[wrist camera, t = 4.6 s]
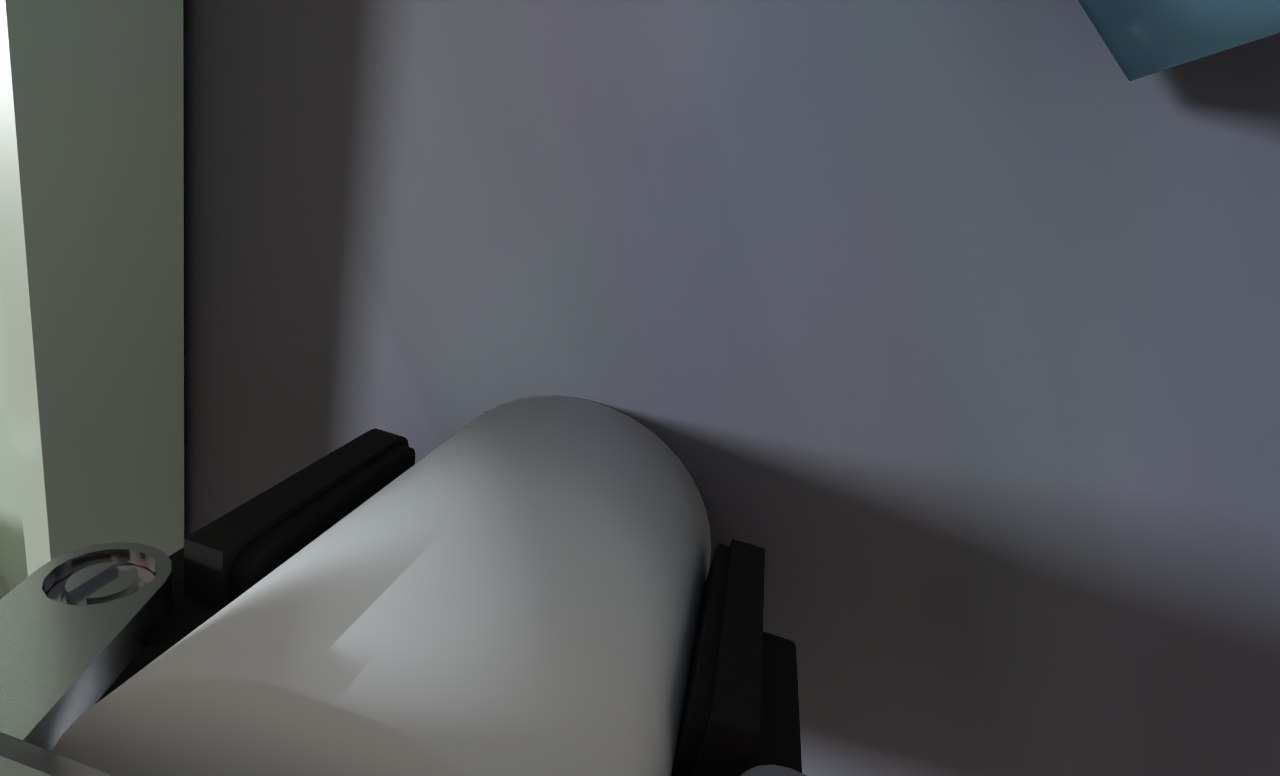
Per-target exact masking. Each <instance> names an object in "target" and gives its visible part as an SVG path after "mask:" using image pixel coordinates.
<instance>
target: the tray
mask: <svg viewBox="0 0 1280 776" xmlns="http://www.w3.org/2000/svg"><path fill="white" fill-rule="evenodd" d="M116 542H120V543H139V544H144V545H148V546H153V547H155V548H157V549H159V550H161V551H163V552H165V553H166V555H167V556H170V555H172V554H173V553H175V552H177V551H178V550H180V549H182V548H183V547H184V158H183V0H0V571H1V573H2V575H3V577H4V579H5V581H6V583H7V586H8V588H9V591H11V590H12V589H14V588H15V587H16V586H17V585H19V584H20V583H21V582H22V581H24V580H25V579H26V578H27V577H28V576H30V575H31V574H32V573H33V572H35V571H36V570H37V569H38V568H40V567H41V566H43V565H45V564H46V563H48V562H49V561H51V560H52V559H54V558H56V557H59V556H61V555H64V554H66V553H69V552H71V551H73V550H77V549H81V548H85V547H89V546H93V545H99V544H108V543H116Z"/></svg>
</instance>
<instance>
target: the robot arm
mask: <svg viewBox="0 0 1280 776" xmlns="http://www.w3.org/2000/svg"><path fill="white" fill-rule="evenodd" d="M414 463H415V450H414V449H413V448H410V447H409V445H408V440H407V439H406V438H405V437H402V436H399V435H395V434H392V433H389V432H386V431H382V430H379V429H372V430H370V431H368V432H366V433H364V434H363V435H361V436H359V437H358V438H356V439H354V440H352V441H351V442H349V443H347V444H346V445H344V446H342V447H340V448H339V449H337V450H335V451H334V452H332V453H330V454H328V455H327V456H325V457H323V458H321V459H320V460H318V461H316V462H315V463H313V464H311V465H309V466H308V467H306V468H304V469H303V470H301V471H299V472H297V473H296V474H294V475H292V476H291V477H289V478H287V479H285V480H284V481H282V482H280V483H279V484H277V485H275V486H273V487H272V488H270V489H268V490H267V491H265V492H263V493H261V494H260V495H258V496H256V497H254V498H253V499H251V500H249V501H248V502H246V503H244V504H242V505H241V506H239V507H237V508H236V509H234V510H232V511H230V512H229V513H227V514H225V515H224V516H222V517H220V518H218V519H217V520H215V521H213V522H212V523H210V524H208V525H206V526H205V527H203V528H201V529H200V530H198V531H196V532H194V533H193V534H191V535H189V536H187V537H186V538H184V547H183V548H182V549H180V550H178V551H177V552H175V553H173V554H172V555H170V556H167V555H166V553H165V552H163V551H161V550H159V549H157V548H155V547H153V546H148V545H144V544H139V543H120V542H116V543H108V544H99V545H93V546H89V547H85V548H81V549H77V550H73V551H71V552H69V553H66V554H64V555H61V556H59V557H56V558H54V559H52V560H51V561H49V562H48V563H46V564H45V565H43V566H41V567H40V568H38V569H37V570H36V571H35V572H33V573H32V574H31V575H30V576H28V577H27V578H26V579H25V580H24V581H22V582H21V583H20V584H19V585H17V586H16V587H15V588H14V589H12V590H11V591H10V592H9V593H8V594H6V595H5V596H4V597H3V598H0V776H113V775H110V774H107V773H105V772H102V771H100V770H97V769H95V768H92V767H89V766H87V765H84V764H82V763H79V762H77V761H74V760H72V759H69V758H66V757H64V756H61V755H59V754H56V753H54V752H52V750H53V748H54V747H55V745H56V744H57V742H58V740H59V739H60V737H61V735H62V734H63V733H64V732H65V731H66V730H67V729H68V728H69V727H70V726H71V725H72V724H73V723H74V722H75V721H76V720H77V719H78V718H79V717H80V716H81V715H82V714H83V713H84V712H86V711H87V710H88V709H90V708H91V707H92V706H94V705H95V704H96V703H98V702H99V701H100V700H102V699H103V698H104V697H106V696H107V695H108V694H110V693H111V692H112V691H114V690H115V689H116V688H118V687H119V686H120V685H122V684H123V683H124V682H126V681H127V680H128V679H130V678H131V677H132V676H134V675H135V674H136V673H138V672H139V671H140V670H142V669H143V668H144V667H146V666H147V665H148V664H150V663H151V662H152V661H154V660H155V659H156V658H158V657H159V656H160V655H162V654H163V653H164V652H166V651H167V650H168V649H170V648H171V647H172V646H174V645H175V644H176V643H178V642H179V641H180V640H182V639H183V638H184V637H186V636H187V635H188V634H190V633H191V632H192V631H194V630H195V629H196V628H198V627H199V626H200V625H202V624H203V623H204V622H206V621H207V620H208V619H210V618H211V617H212V616H214V615H215V614H216V613H218V612H219V611H220V610H222V609H223V608H224V607H226V606H227V605H228V604H230V603H231V602H232V601H234V600H235V599H236V598H238V597H239V596H240V595H242V594H243V593H244V592H246V591H247V590H248V589H250V588H251V587H252V586H254V585H255V584H256V583H258V582H259V581H260V580H262V579H263V578H264V577H266V576H267V575H268V574H270V573H271V572H272V571H274V570H275V569H276V568H278V567H279V566H280V565H282V564H283V563H284V562H286V561H287V560H288V559H290V558H291V557H292V556H294V555H295V554H296V553H298V552H299V551H300V550H302V549H303V548H304V547H306V546H307V545H308V544H309V543H311V542H312V541H313V540H315V539H316V538H317V537H319V536H320V535H321V534H323V533H324V532H325V531H327V530H328V529H329V528H331V527H332V526H333V525H335V524H336V523H337V522H339V521H340V520H341V519H343V518H344V517H345V516H347V515H348V514H349V513H351V512H352V511H353V510H355V509H356V508H357V507H359V506H360V505H361V504H363V503H364V502H365V501H367V500H368V499H369V498H371V497H372V496H373V495H375V494H376V493H377V492H379V491H380V490H381V489H383V488H384V487H385V486H387V485H388V484H389V483H391V482H392V481H393V480H395V479H396V478H397V477H399V476H400V475H401V474H403V473H404V472H405V471H407V470H408V469H409V468H411V467H412V466H413V465H414ZM764 565H765V549H764V548H761V547H758V546H754V545H751V544H748V543H745V542H741V541H738V540H735V539H732V541H731V543H730V546H725V545H722V544H719V543H718V545H717V547H716V550H715V553H714V557H713V560H712V563H711V566H710V569H709V573H708V576H707V579H706V582H705V588H704V594H703V599H702V605H701V611H700V616H699V622H698V628H697V633H696V639H695V645H694V650H693V656H692V661H691V667H690V673H689V678H688V684H687V690H686V695H685V701H684V707H683V712H682V718H681V724H680V729H679V735H678V741H677V746H676V752H675V758H674V763H673V769H672V775H671V776H806V775H804V774H802V764H801V743H800V722H799V702H798V681H797V660H796V647H795V644H794V642H793V641H790V640H787V639H784V638H781V637H778V636H775V635H772V634H769V633H765V632H763V604H764Z"/></svg>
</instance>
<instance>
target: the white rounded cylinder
mask: <svg viewBox="0 0 1280 776" xmlns="http://www.w3.org/2000/svg"><path fill="white" fill-rule="evenodd" d="M9 592H10V591H9V588H8V586H7V583H6V581H5V579H4V577H3V575H2V573H1V571H0V598H3V597H4V596H5V595H6V594H8V593H9Z"/></svg>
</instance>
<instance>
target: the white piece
mask: <svg viewBox="0 0 1280 776" xmlns="http://www.w3.org/2000/svg"><path fill="white" fill-rule="evenodd" d="M710 557H711V534H710V525H709V521H708V516H707V512H706V508H705V505H704V503H703V500H702V497H701V495H700V492H699V490H698V488H697V486H696V484H695V482H694V480H693V479H692V477H691V475H690V473H689V472H688V470H687V469H686V468H685V466H684V465H683V463H682V462H681V460H680V459H679V458H678V457H677V456H676V454H675V453H674V452H673V451H672V450H671V449H670V448H669V447H668V446H667V445H666V443H665V442H663V441H662V440H661V439H660V438H659V437H658V436H656V435H655V434H654V433H653V432H652V431H651V430H649V429H648V428H646V427H645V426H643V425H642V424H640V423H639V422H637V421H636V420H634V419H633V418H631V417H629V416H627V415H625V414H623V413H621V412H619V411H617V410H615V409H613V408H610V407H607V406H605V405H602V404H599V403H596V402H593V401H589V400H584V399H580V398H575V397H565V396H535V397H529V398H523V399H518V400H515V401H511V402H508V403H505V404H502V405H500V406H498V407H495V408H493V409H491V410H489V411H487V412H485V413H484V414H482V415H481V416H479V417H478V418H476V419H475V420H474V421H472V422H471V423H469V424H468V425H467V426H465V427H464V428H463V429H461V430H460V431H459V432H457V433H456V434H455V435H453V436H452V437H451V438H449V439H448V440H447V441H445V442H444V443H443V444H441V445H440V446H439V447H437V448H436V449H435V450H433V451H432V452H431V453H429V454H428V455H427V456H425V457H424V458H423V459H421V460H420V461H419V462H417V463H416V464H415V465H413V466H412V467H411V468H409V469H408V470H407V471H405V472H404V473H403V474H401V475H400V476H399V477H397V478H396V479H395V480H393V481H392V482H391V483H389V484H388V485H387V486H385V487H384V488H383V489H381V490H380V491H379V492H377V493H376V494H375V495H373V496H372V497H371V498H369V499H368V500H367V501H365V502H364V503H363V504H361V505H360V506H359V507H357V508H356V509H355V510H353V511H352V512H351V513H349V514H348V515H347V516H345V517H344V518H343V519H341V520H340V521H339V522H337V523H336V524H335V525H333V526H332V527H331V528H329V529H328V530H327V531H325V532H324V533H323V534H321V535H320V536H319V537H317V538H316V539H315V540H313V541H312V542H311V543H309V544H308V545H307V546H306V547H304V548H303V549H302V550H300V551H299V552H298V553H296V554H295V555H294V556H292V557H291V558H290V559H288V560H287V561H286V562H284V563H283V564H282V565H280V566H279V567H278V568H276V569H275V570H274V571H272V572H271V573H270V574H268V575H267V576H266V577H264V578H263V579H262V580H260V581H259V582H258V583H256V584H255V585H254V586H252V587H251V588H250V589H248V590H247V591H246V592H244V593H243V594H242V595H240V596H239V597H238V598H236V599H235V600H234V601H232V602H231V603H230V604H228V605H227V606H226V607H224V608H223V609H222V610H220V611H219V612H218V613H216V614H215V615H214V616H212V617H211V618H210V619H208V620H207V621H206V622H204V623H203V624H202V625H200V626H199V627H198V628H196V629H195V630H194V631H192V632H191V633H190V634H188V635H187V636H186V637H184V638H183V639H182V640H180V641H179V642H178V643H176V644H175V645H174V646H172V647H171V648H170V649H168V650H167V651H166V652H164V653H163V654H162V655H160V656H159V657H158V658H156V659H155V660H154V661H152V662H151V663H150V664H148V665H147V666H146V667H144V668H143V669H142V670H140V671H139V672H138V673H136V674H135V675H134V676H132V677H131V678H130V679H128V680H127V681H126V682H124V683H123V684H122V685H120V686H119V687H118V688H116V689H115V690H114V691H112V692H111V693H110V694H108V695H107V696H106V697H104V698H103V699H102V700H100V701H99V702H98V703H96V704H95V705H94V706H92V707H91V708H90V709H88V710H87V711H86V712H84V713H83V714H82V715H81V716H80V717H79V718H78V719H77V720H76V721H75V722H74V723H73V724H72V725H71V726H70V727H69V728H68V729H67V730H66V731H65V732H64V733H63V734H62V735H61V737H60V739H59V740H58V742H57V744H56V745H55V747H54V748H53V750H52V752H54V753H56V754H59V755H61V756H64V757H66V758H69V759H72V760H74V761H77V762H79V763H82V764H84V765H87V766H89V767H92V768H95V769H97V770H100V771H102V772H105V773H107V774H110V775H113V776H671V775H672V769H673V763H674V758H675V752H676V746H677V741H678V735H679V729H680V724H681V718H682V712H683V707H684V701H685V695H686V690H687V684H688V678H689V673H690V667H691V661H692V656H693V650H694V645H695V639H696V633H697V628H698V622H699V616H700V611H701V605H702V599H703V594H704V588H705V582H706V579H707V576H708V572H709V566H710Z"/></svg>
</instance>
